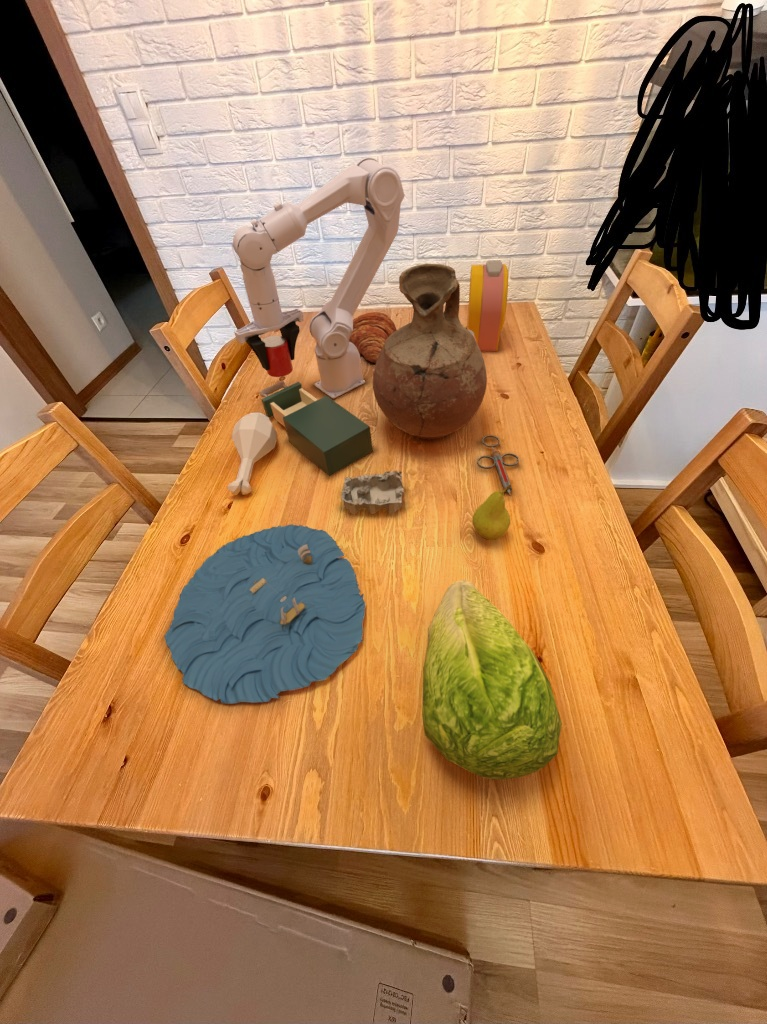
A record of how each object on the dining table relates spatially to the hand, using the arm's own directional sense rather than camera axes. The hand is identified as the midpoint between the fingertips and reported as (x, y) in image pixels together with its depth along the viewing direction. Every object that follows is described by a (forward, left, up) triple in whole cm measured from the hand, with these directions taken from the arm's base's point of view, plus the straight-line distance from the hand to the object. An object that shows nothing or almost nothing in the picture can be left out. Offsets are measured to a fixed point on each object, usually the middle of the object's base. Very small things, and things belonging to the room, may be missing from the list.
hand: (278, 363), depth 99 cm
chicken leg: (+17, +15, -9) cm, 25 cm away
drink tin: (0, 0, -2) cm, 2 cm away
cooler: (+3, +21, -9) cm, 23 cm away
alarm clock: (-50, +14, -9) cm, 53 cm away
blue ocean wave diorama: (+31, +46, -9) cm, 56 cm away
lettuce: (+16, +73, -9) cm, 75 cm away
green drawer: (+3, +8, -8) cm, 12 cm away
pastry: (-29, -5, -9) cm, 31 cm away
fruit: (-3, +58, -9) cm, 59 cm away
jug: (-16, +30, -9) cm, 35 cm away
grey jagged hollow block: (+6, +39, -9) cm, 40 cm away
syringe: (-16, +49, -10) cm, 52 cm away
